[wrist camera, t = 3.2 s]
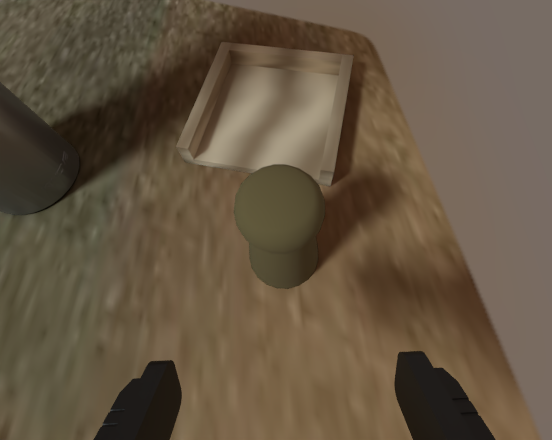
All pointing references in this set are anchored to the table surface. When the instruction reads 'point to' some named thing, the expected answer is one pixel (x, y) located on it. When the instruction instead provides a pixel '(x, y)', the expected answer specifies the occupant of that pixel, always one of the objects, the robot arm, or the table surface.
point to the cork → (280, 223)
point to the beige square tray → (269, 110)
